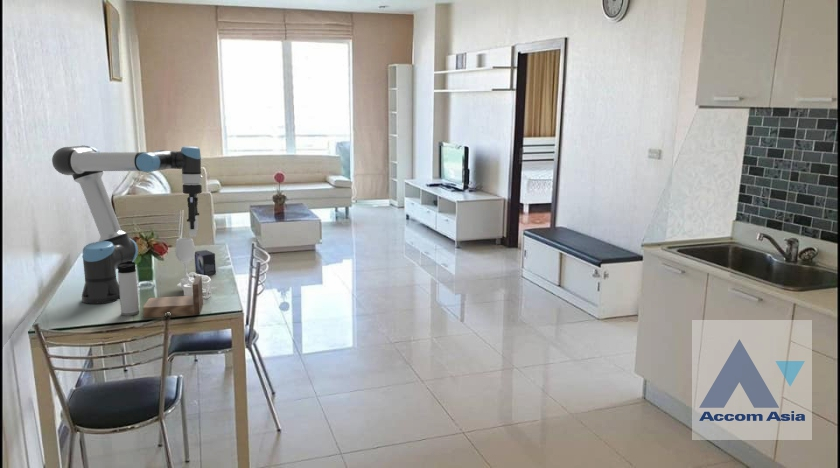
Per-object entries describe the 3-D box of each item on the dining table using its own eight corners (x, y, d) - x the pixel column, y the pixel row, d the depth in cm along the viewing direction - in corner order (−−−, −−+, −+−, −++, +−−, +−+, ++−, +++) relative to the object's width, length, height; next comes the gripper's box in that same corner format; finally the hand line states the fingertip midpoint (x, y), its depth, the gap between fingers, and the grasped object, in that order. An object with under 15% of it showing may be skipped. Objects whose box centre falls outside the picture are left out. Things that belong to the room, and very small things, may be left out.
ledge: (143, 317, 235) (141, 286, 233) (150, 307, 248) (148, 278, 246) (199, 314, 240) (197, 284, 238) (203, 304, 252) (201, 275, 250)
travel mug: (142, 310, 244) (138, 260, 240) (135, 316, 237) (131, 264, 234) (125, 310, 243) (121, 260, 240) (118, 316, 237) (114, 264, 233)
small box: (194, 272, 304) (193, 251, 302) (207, 270, 308) (206, 249, 306) (203, 276, 296) (202, 255, 294) (216, 274, 300) (215, 253, 298)
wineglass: (190, 288, 276) (187, 241, 272) (172, 286, 278) (169, 240, 274) (201, 283, 284) (198, 237, 281) (183, 281, 286) (181, 236, 282)
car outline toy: (180, 289, 274) (179, 273, 273) (206, 287, 279) (205, 271, 277) (185, 301, 256) (184, 284, 255) (213, 298, 261) (212, 281, 260)
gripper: (199, 187, 251) (201, 239, 255) (203, 180, 274) (204, 228, 278) (179, 187, 249) (181, 239, 253) (184, 180, 272) (186, 228, 276)
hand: (193, 233), depth 266 cm, fingers open, 13 cm apart
